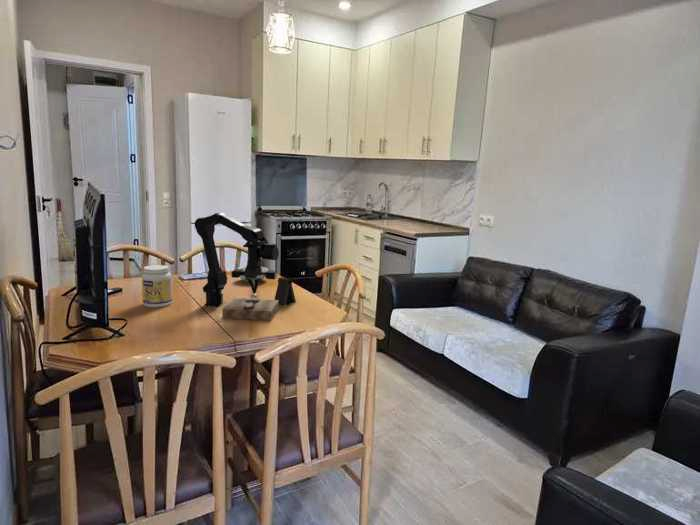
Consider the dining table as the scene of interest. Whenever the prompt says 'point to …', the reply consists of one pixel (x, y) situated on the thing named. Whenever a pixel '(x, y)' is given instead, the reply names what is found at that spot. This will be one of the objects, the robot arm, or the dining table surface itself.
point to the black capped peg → (248, 304)
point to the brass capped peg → (254, 298)
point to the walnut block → (258, 311)
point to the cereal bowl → (255, 278)
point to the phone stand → (285, 292)
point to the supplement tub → (156, 286)
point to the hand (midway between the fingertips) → (254, 293)
